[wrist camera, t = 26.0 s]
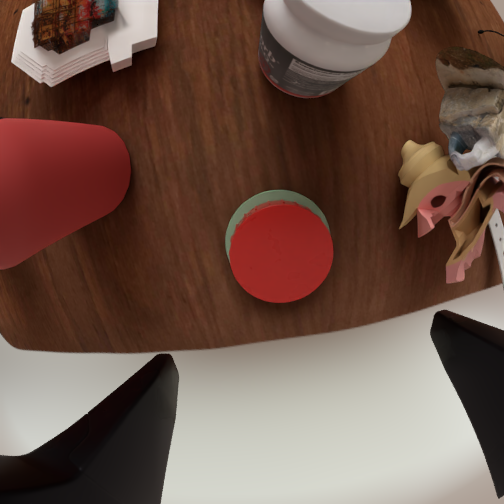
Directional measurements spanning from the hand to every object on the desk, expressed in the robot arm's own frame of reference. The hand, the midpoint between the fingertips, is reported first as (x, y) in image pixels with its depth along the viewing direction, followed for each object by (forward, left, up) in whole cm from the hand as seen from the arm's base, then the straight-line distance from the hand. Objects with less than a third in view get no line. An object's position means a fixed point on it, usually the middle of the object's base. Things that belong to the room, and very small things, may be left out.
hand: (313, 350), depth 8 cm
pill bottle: (+3, +12, -11) cm, 17 cm away
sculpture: (+14, +9, -4) cm, 17 cm away
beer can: (-12, +7, -11) cm, 18 cm away
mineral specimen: (-11, +19, -11) cm, 25 cm away
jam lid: (0, 0, -9) cm, 9 cm away
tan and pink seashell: (+13, +2, -11) cm, 17 cm away
